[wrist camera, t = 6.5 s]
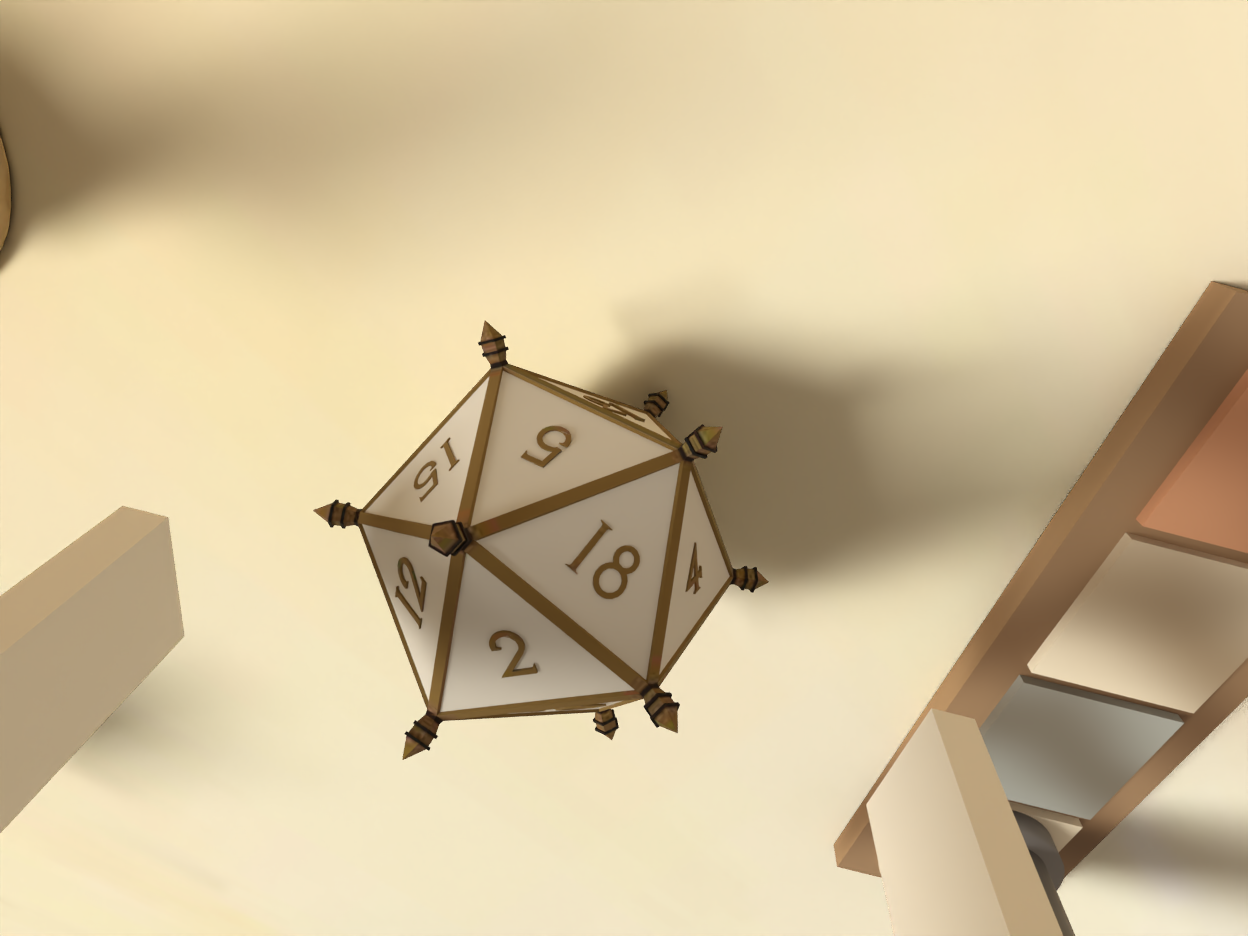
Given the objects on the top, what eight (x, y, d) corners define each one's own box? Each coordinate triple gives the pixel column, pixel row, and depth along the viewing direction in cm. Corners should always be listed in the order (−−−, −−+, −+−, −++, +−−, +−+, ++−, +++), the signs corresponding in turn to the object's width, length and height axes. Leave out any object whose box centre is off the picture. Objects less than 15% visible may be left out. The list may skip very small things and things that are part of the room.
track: (1019, 890, 25) (1031, 922, 24) (833, 844, 25) (838, 875, 24) (1527, 364, 15) (1584, 385, 14) (1212, 281, 14) (1246, 295, 14)
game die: (669, 400, 21) (922, 626, 14) (484, 595, 22) (642, 899, 15) (463, 190, 15) (744, 418, 8) (211, 476, 15) (271, 909, 9)
